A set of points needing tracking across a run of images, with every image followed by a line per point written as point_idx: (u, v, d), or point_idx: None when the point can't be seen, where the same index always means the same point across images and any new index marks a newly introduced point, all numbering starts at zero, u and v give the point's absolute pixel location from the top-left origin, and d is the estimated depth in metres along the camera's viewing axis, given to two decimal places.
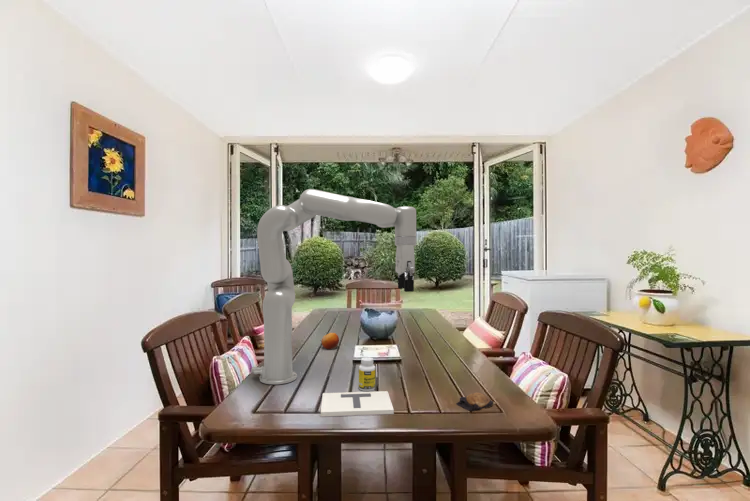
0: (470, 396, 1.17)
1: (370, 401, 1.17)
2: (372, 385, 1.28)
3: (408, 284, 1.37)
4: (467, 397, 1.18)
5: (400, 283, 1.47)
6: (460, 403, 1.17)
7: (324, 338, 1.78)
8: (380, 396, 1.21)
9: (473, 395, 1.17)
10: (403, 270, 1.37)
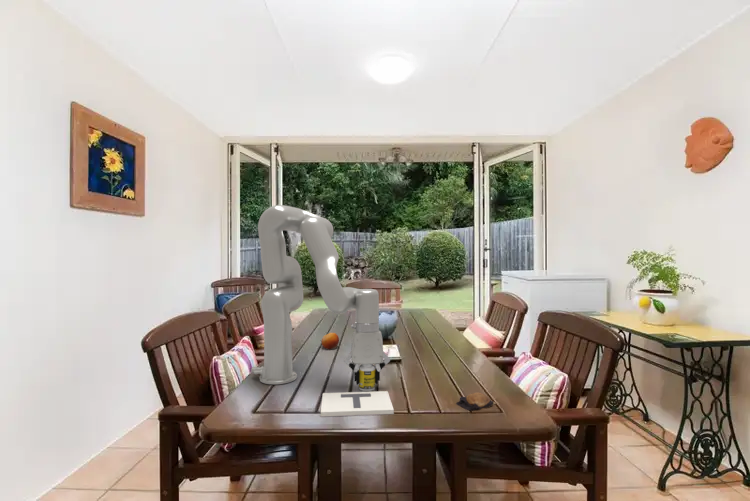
0: (470, 396, 1.17)
1: (370, 401, 1.17)
2: (372, 385, 1.28)
3: (379, 375, 1.30)
4: (467, 397, 1.18)
5: (358, 378, 1.29)
6: (460, 403, 1.17)
7: (324, 338, 1.78)
8: (380, 396, 1.21)
9: (473, 395, 1.17)
10: None
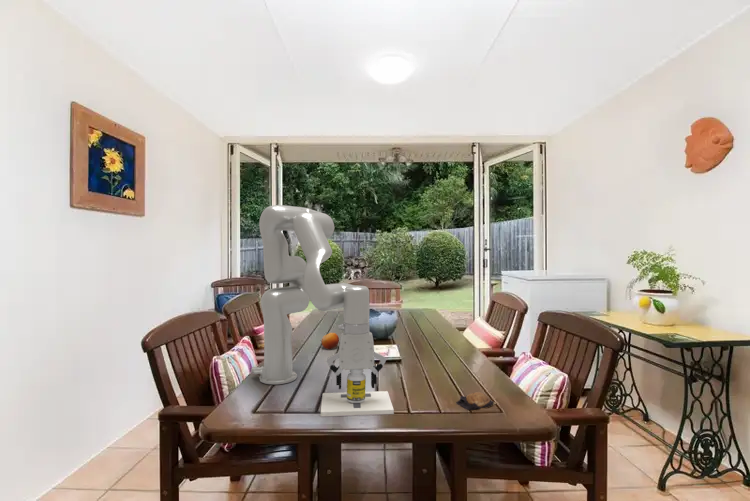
0: (470, 395, 1.18)
1: (370, 401, 1.17)
2: (361, 396, 1.15)
3: None
4: (467, 396, 1.18)
5: None
6: (460, 402, 1.18)
7: (324, 338, 1.78)
8: (380, 396, 1.21)
9: (473, 394, 1.18)
10: None
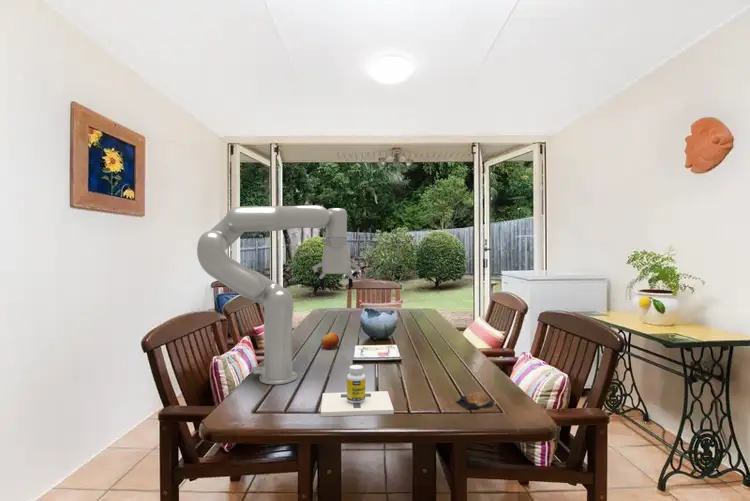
0: (470, 395, 1.18)
1: (370, 401, 1.17)
2: (361, 396, 1.15)
3: (352, 282, 1.46)
4: (467, 396, 1.19)
5: None
6: (460, 402, 1.18)
7: (324, 338, 1.78)
8: (380, 396, 1.21)
9: (473, 394, 1.18)
10: (350, 269, 1.44)
